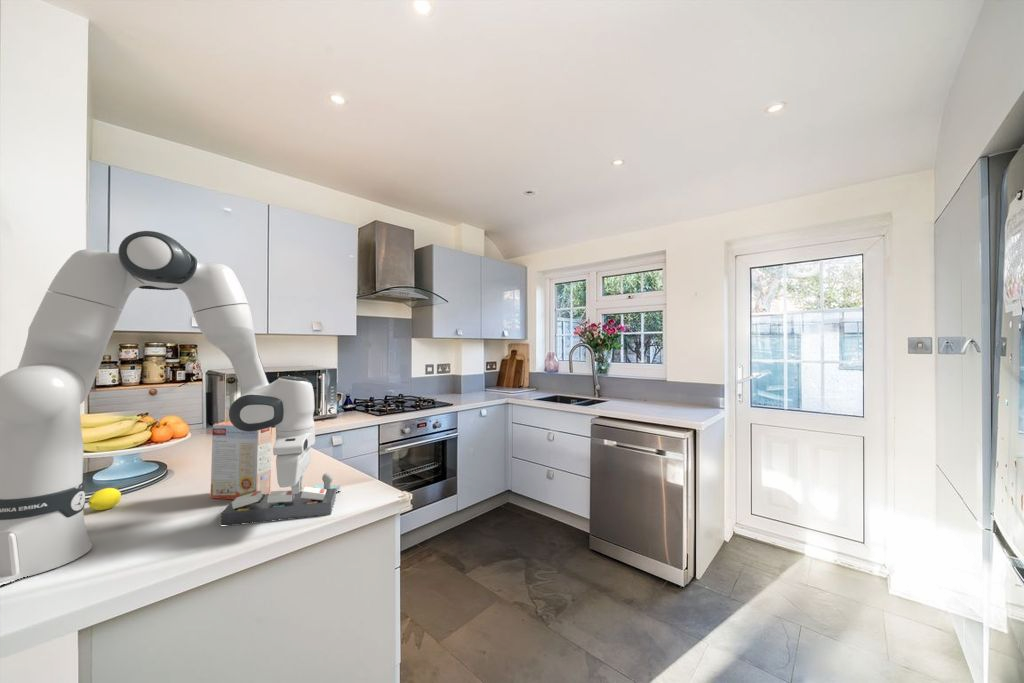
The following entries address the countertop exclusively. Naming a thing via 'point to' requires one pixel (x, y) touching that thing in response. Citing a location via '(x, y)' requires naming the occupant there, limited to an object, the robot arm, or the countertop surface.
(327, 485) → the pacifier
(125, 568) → the countertop surface
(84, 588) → the countertop surface
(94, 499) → the lemon
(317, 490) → the rocker
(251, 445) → the cracker box
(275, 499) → the rocker
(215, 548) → the countertop surface
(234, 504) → the rocker
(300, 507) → the power strip
